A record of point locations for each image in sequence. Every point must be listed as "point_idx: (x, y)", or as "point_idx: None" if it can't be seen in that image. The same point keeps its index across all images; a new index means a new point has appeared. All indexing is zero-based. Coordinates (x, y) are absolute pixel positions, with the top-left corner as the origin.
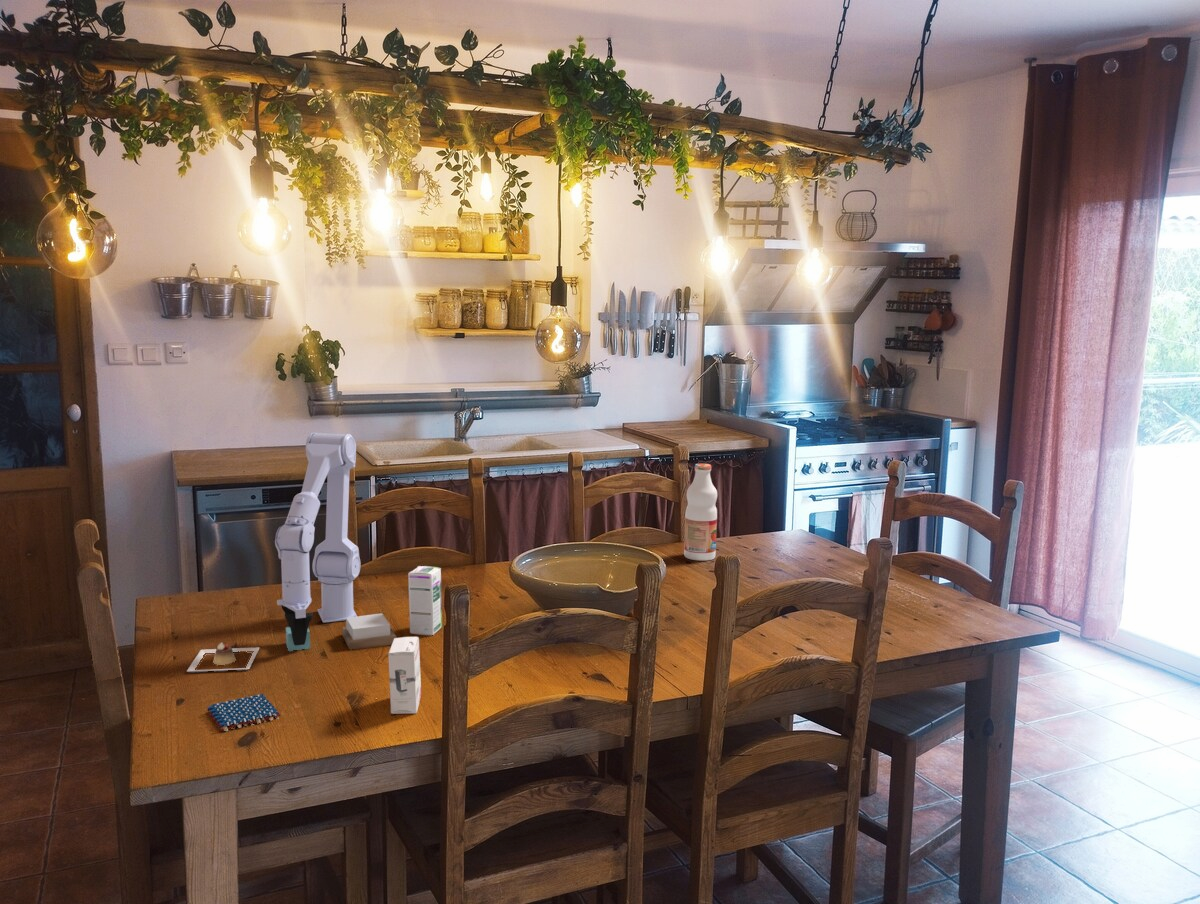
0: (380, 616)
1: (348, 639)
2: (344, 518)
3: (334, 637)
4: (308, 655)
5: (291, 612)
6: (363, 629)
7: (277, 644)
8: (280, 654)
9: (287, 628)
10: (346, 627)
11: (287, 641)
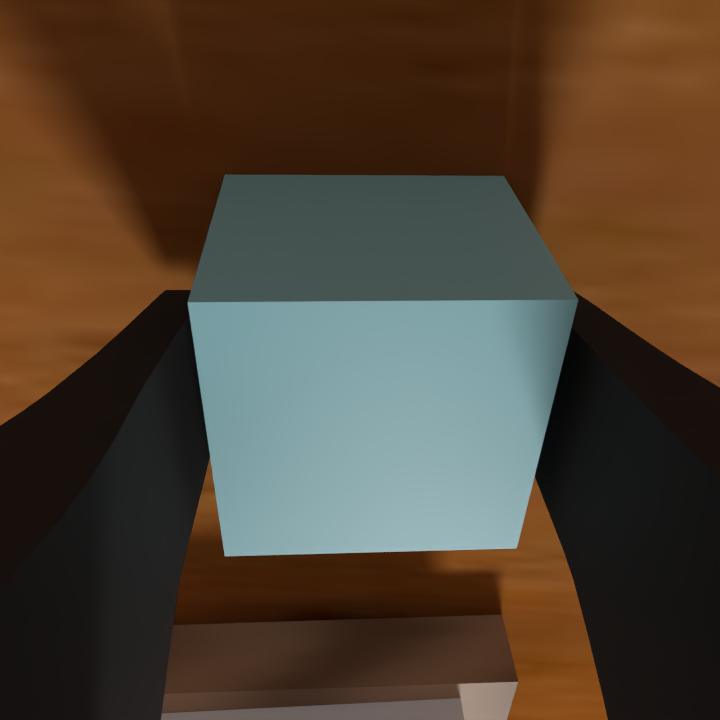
0: None
1: (173, 693)
2: None
3: (471, 572)
4: (36, 363)
5: (699, 595)
6: None
7: (562, 62)
8: (129, 58)
9: (497, 321)
10: (454, 710)
11: (301, 223)
